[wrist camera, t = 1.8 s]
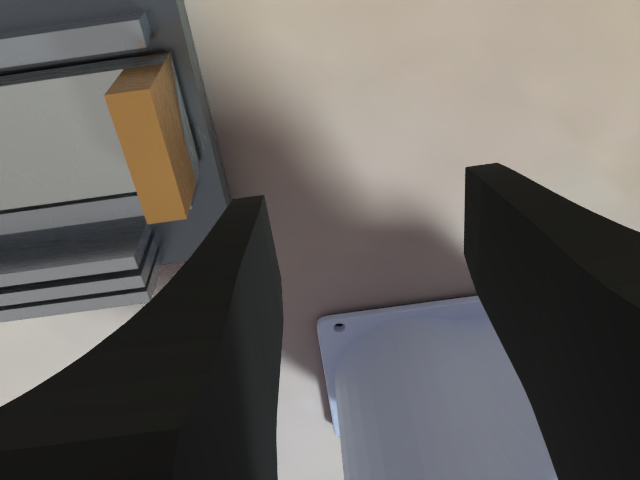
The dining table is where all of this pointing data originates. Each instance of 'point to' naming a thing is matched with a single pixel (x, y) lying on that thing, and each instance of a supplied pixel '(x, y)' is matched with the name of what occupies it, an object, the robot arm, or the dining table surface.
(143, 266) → the heatsink plate
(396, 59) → the dining table surface
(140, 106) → the grey orange block
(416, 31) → the dining table surface
